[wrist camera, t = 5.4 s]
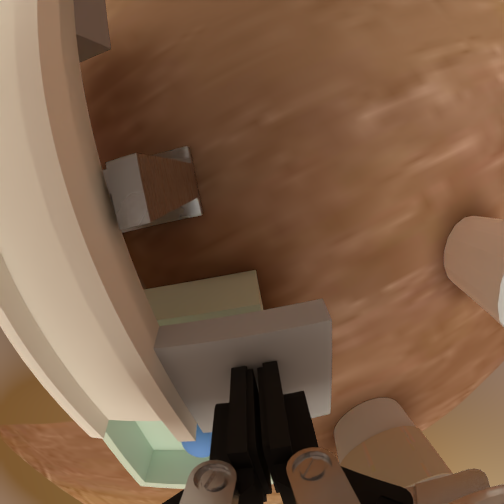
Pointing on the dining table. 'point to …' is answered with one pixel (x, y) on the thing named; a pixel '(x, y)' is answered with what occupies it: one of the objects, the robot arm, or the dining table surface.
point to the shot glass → (478, 262)
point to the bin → (155, 432)
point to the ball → (199, 444)
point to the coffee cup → (386, 445)
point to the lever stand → (153, 188)
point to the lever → (109, 258)
